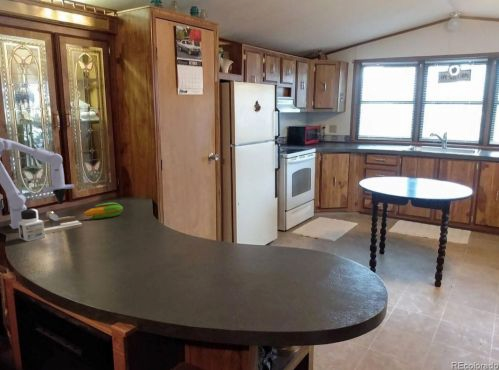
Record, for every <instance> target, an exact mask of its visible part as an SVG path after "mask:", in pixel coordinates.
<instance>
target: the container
mask: <svg viewBox="0 0 499 370" xmlns="http://www.w3.org/2000/svg"><path fill="white" fill-rule="evenodd" d="M21 217H22V221H20V222H18V227H19V228H18V233H19V239H21V240H24V241H26V242H30V241H31V242H32V241H34V240H38V239H42V238H45V237H46V234H45V233H44V224H43V221H44V220H42V219H39V211H38V210H37V209H35V208H27V210H23V211H22V212H21Z"/></svg>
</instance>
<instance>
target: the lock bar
mask: <svg viewBox="0 0 499 370" xmlns="http://www.w3.org/2000/svg"><path fill="white" fill-rule="evenodd" d="M48 217H49V218H51V219H52V220H54V221H55V220H58V218H59V216H58V215H57V214H56V213H55V211H54V210H50V211H48V210H47V211H46V218H48ZM49 218H48V219H49Z"/></svg>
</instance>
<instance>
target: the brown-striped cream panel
mask: <svg viewBox="0 0 499 370" xmlns="http://www.w3.org/2000/svg"><path fill="white" fill-rule="evenodd" d="M47 218H48V219H47V220H42V221H43V224H44V233H45V235H48V234H53V233H56V232H61V231H68V230H72V229H77V228H83V223H82V222H81V221H80V220H77V216H74V215H73V216H64V217H58V220H55V221H54V220H52V219H51V218H49V217H47Z"/></svg>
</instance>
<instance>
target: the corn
mask: <svg viewBox="0 0 499 370" xmlns="http://www.w3.org/2000/svg"><path fill="white" fill-rule="evenodd" d="M123 208H124V207H123V205H121V204H119V203H117V202H105V203H99V204H96V205H95V207H94V208H90V209H87V210H86V211H84V213H83V214H84V215H85V216H86V217H91V219H97V220H99V219H107V218H108V219H109V218H113V217H117V216H119V215H120V214H121V213H122V212H123V210H124V209H123Z"/></svg>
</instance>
